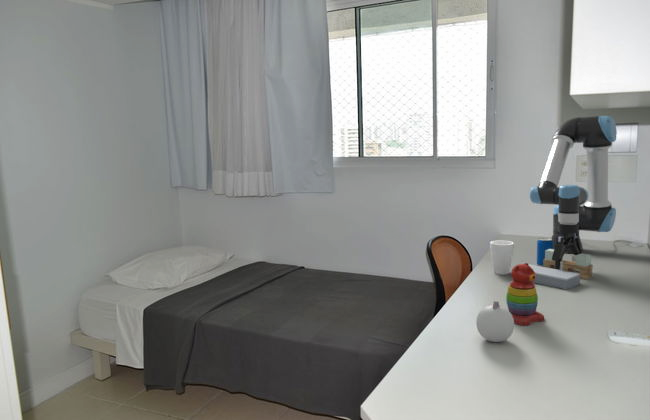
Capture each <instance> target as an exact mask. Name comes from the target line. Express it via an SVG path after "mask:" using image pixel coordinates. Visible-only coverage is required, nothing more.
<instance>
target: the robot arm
mask: <svg viewBox="0 0 650 420" xmlns="http://www.w3.org/2000/svg"><path fill="white" fill-rule="evenodd" d="M616 125H617V124H616V121H615V120H614V118H613V117H612V116H609V115H596V116H595V115H594V116H583V117H582V116H581V117H580V116H577V117H573V118H570V119H568V120H566V121H565V122H563V123H562V124H560V126H558V128H557V129H556V130H555V131H554V134H553V135H552V138H551V141H550V142H551V145H552V146H551V148H550V150H549V154H548V156H547V159H546V162H545V166H544V170H543V172H542V175H541V177H540V181H539V183H538V185H537V186H532V187H531V189H530V191H529V199H530V202H531V203H533V204H536V205H537V204H539V205H554V207H553V213H552V215H553V216H552V218H553V219H552V220H553V221H552V236H551V239H552V241H553V249H554V252H553V256H552V260H553V261H555V269H557V270H562V265H563V261H561V260H563V258H564V254H572V255H571V261H573V262H576V255H578V254H583V250H584V247H583V243H582V241H581V237H580V231H585V232H597V233H609V232H611V231H612V229H613V227H614V225H615V222H616V215H617V209H616V207H613V206H612V202H611V201H610V200H609V149H610V148H611V147H612V146H613V143H615V142H616V140H617V135H618V134H617V126H616ZM577 143H579V144H582V148H584V149H585V150H586V189H585V188H584V187H581V186H579V185H578V184H562V185H560V186H559V183H560V180H561V177H562V174H563V171H564V168H565V165H566V161H567V158H568V156H569V152H570V150H571V149H572V148H573V147H574V145H575V144H577ZM558 186H559V187H558ZM576 271H577V272H579V269H574V272H576Z"/></svg>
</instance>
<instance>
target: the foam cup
mask: <svg viewBox="0 0 650 420" xmlns="http://www.w3.org/2000/svg"><path fill="white" fill-rule="evenodd" d="M489 245H490V246H489V248H490V252H491V254H490V255H491V261H492V266H493V267H492V268H493V273H494V274H497V275H502V276H503V275H508V274H510V273H511V265H512V261H513V260H512V259H513V254H514V253H513V252H514V249H515V243H514V242H513V241H511V240H502V239H501V240H492V241H490V242H489Z"/></svg>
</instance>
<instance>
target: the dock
mask: <svg viewBox="0 0 650 420" xmlns="http://www.w3.org/2000/svg"><path fill="white" fill-rule="evenodd" d="M528 265H529V266H530V267H531V268H532V269H533V271H534V272H535V274H536V277H535V280H534V281H533V283H534V284H539V285H544V286H549V287H555V288H558V289H564V290H569V289H571V288H573V287H576V286H577V285H580V283H581V282H580V281H581V278H580V274H579V272H574V273H573V272H568V271H562V270H557V269H552V268H546V267H541V266H539V265H535V264H530V263H528Z"/></svg>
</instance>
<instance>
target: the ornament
mask: <svg viewBox="0 0 650 420" xmlns="http://www.w3.org/2000/svg"><path fill="white" fill-rule="evenodd" d="M475 323H476V328H477V331H478V333H479V335H480V336H481V337H482V338H484V339H485V340H487V341H489V342H493V343H501V342H505V341H507V340H508V339H510V337H511V336H512V334H513V333H514V329H515V323H514V319H513V317H512V315H511V313H510V312H509V310H508V308H506V307H503V306H501V305H500V301H498V300H493V303H492V304H491V305H488V306H485V307H483V308H481V310H479V312H478V314H477V316H476V322H475Z"/></svg>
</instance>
